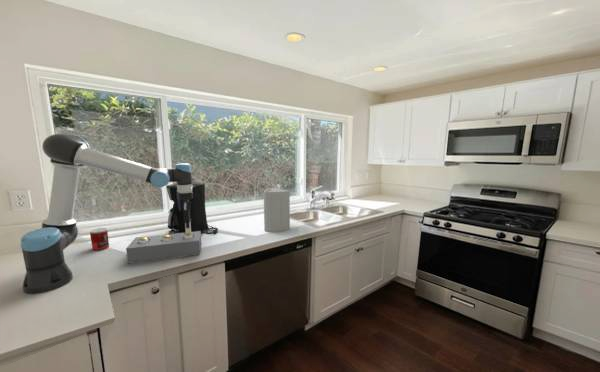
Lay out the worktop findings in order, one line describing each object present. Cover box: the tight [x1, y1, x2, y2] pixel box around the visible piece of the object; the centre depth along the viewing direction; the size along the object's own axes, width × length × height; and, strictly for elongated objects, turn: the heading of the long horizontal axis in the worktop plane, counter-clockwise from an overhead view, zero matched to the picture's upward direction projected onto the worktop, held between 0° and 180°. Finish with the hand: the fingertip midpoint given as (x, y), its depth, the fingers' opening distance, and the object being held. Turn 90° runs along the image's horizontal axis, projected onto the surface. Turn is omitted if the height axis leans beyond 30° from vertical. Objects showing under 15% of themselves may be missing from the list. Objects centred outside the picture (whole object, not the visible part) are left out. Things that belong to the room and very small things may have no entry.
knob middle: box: [162, 233, 172, 241], centre depth 138 cm, size 4×4×8 cm
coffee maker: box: [166, 181, 219, 235], centre depth 172 cm, size 23×32×34 cm
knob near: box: [139, 235, 149, 243], centre depth 134 cm, size 4×4×8 cm
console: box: [125, 231, 202, 264], centre depth 138 cm, size 16×34×8 cm, turn 108°
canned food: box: [89, 227, 110, 252], centre depth 144 cm, size 8×8×11 cm
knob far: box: [184, 232, 193, 239], centre depth 141 cm, size 4×4×8 cm
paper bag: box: [263, 187, 291, 233], centre depth 176 cm, size 19×15×28 cm
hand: (188, 232), depth 141 cm, fingers closed
